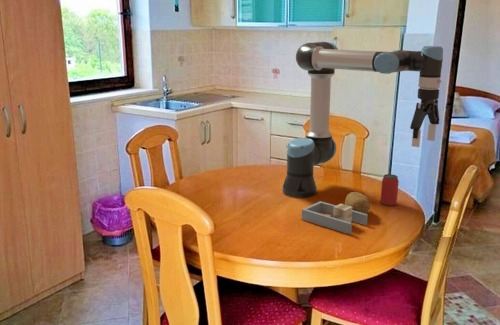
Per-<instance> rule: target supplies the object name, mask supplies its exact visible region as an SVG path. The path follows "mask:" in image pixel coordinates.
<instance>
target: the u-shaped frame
mask: <svg viewBox="0 0 500 325" xmlns="http://www.w3.org/2000/svg"><path fill="white" fill-rule="evenodd" d="M335 206H337V205H335V204H332V203H328V202H325V201H321V200H319V201H318V202H316V203H313V204H311V205H309V206H306V207H304V208H302V209H301V220H303V221H306V222H308V223H311V224H315V225H319V226H322V227H325V228H328V229H330V230H331V229H332V230H335V231H337V232H341V233H343V234H347V235H351V234H352V230H353V228H352V227H353V223H357V224H359V225H363V226H367V225H368V213H365V214H364V213H361V212H357V211H354V210H352V222H353V223H350V222H347V221H343V220H340V219H337V218H333V209H334V207H335Z"/></svg>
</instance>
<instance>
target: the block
mask: <svg viewBox="0 0 500 325" xmlns="http://www.w3.org/2000/svg"><path fill="white" fill-rule="evenodd" d="M332 217H333V218H337V219H340V220H343V221H347V222H350V223H352V222H353V221H352V207H351V206H348V205H345V203H344V204H343V203H339V204H337V205H336V206H335V207H334V209H333V216H332ZM352 224H353V223H352Z"/></svg>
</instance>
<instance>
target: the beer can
mask: <svg viewBox="0 0 500 325" xmlns="http://www.w3.org/2000/svg"><path fill="white" fill-rule="evenodd" d="M398 177H399V176H398V175H396V174H392V173H389V174H388V173H387V174H383V178H382V180H381V189H380V190H381V192H380V204H382V205H384V206H386V207H387V206H388V207H391V206H392V207H393V206H396V204H397V203H398V193H399V192H398V190H399V178H398Z"/></svg>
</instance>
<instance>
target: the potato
mask: <svg viewBox="0 0 500 325" xmlns="http://www.w3.org/2000/svg"><path fill="white" fill-rule="evenodd" d="M344 205H348V206H351V207H352V210H354V211H357V212H361V213H364V214H368V213H369V210H370V208H371V203H370V199H369V198H368V197H367V195H365V194H363V193H360V192H359V191H351V192H349V193H348V194H346V197H345V202H344Z"/></svg>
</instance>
